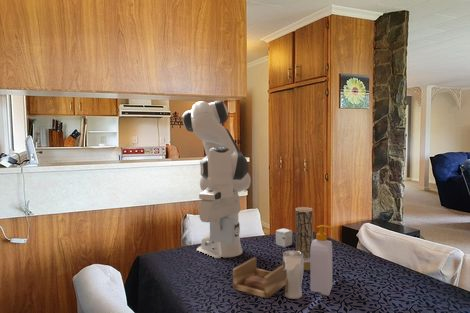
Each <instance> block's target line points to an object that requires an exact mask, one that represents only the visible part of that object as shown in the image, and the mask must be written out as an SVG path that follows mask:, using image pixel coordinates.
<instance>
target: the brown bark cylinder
mask: <svg viewBox="0 0 470 313" xmlns="http://www.w3.org/2000/svg"><path fill="white" fill-rule="evenodd" d="M313 214H314V210H313V208H312V207H310V206H309V207H307V206H299V207H296V208H295V251H299V252H301V253H303V262H304V271H310V249H311V243H312V240H314V226H313V225H314V223H313V222H314V220H313V218H314V215H313Z"/></svg>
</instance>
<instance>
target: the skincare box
mask: <svg viewBox="0 0 470 313" xmlns="http://www.w3.org/2000/svg"><path fill="white" fill-rule="evenodd" d="M275 245H277V246H279V247H284V248H285V247H289V246H292V245H293V230H292V229H289V228H279V229H277V230H276V229H275Z"/></svg>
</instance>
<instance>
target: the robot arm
mask: <svg viewBox="0 0 470 313" xmlns="http://www.w3.org/2000/svg"><path fill="white" fill-rule="evenodd" d="M228 117H229V109H228V107H227V106H226V104H225V103H224V101H222V100H215V101H213V102H207V101H205V100H201V101H197V102H195V103H194V104H193V105H192V107H191V109H190V110H186V111H185V112H184V113H183V114H182V124H183V126H184V128H185V129H186V131H188V132H190V133H194V135H195V136H196V138H197V139H199V140H201V141H202V144H203V148H204V152H205V156H204V157H203V158H202V159H201V160H200V162H199V164H200V176H201V178H200V181H199V187H200V190H201V192H200V193H199V194H198V195H199V196H198V197H199V200H200V202H199V208H198V211H199V215H198V216H199V219H200V221H201V222H202V223H210V222H212V221H213V222H214V223H215V225H216V230H217V231H220V230H222V225H220V219H221V218H224V217H227V218H234V225H235V243H234V244H226V243H221V242H216V241H211V240H210V231H209V232H208V233H207V234H205V235H204V237H202V239H201V243H200V245H199V246H198V247H197V248H196V252H197V251H199V252H198V253H200V252H202V253H204V254H203V255H205V254H207V255H206V256H208V255H209V256H208V257H210V256H212V257H211V258H213V257H214V259H221V257H223V258H234V257H238V256H240V255H242V254H243V252H244V251H243V248H242V245H241V240H240V230H241V229H240V222H239V213H240V211H241V200H240V199H241V198H240V196H239V193H241V192H244V191H246V190H248V189H249V188H250V186H251V182H252V178H251V175H250V174H249V172H248V171H249V163H248V160H247V158H246V157H245V156H244V155H243V153H242V152H241V150H240V148H239V146H238V145H237V142H236V141H235V139H234V137H233V136H232V134H231V132H230V130H229V129H228V128H226V127H225V123H227V120H228ZM202 253H201V254H202Z"/></svg>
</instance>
